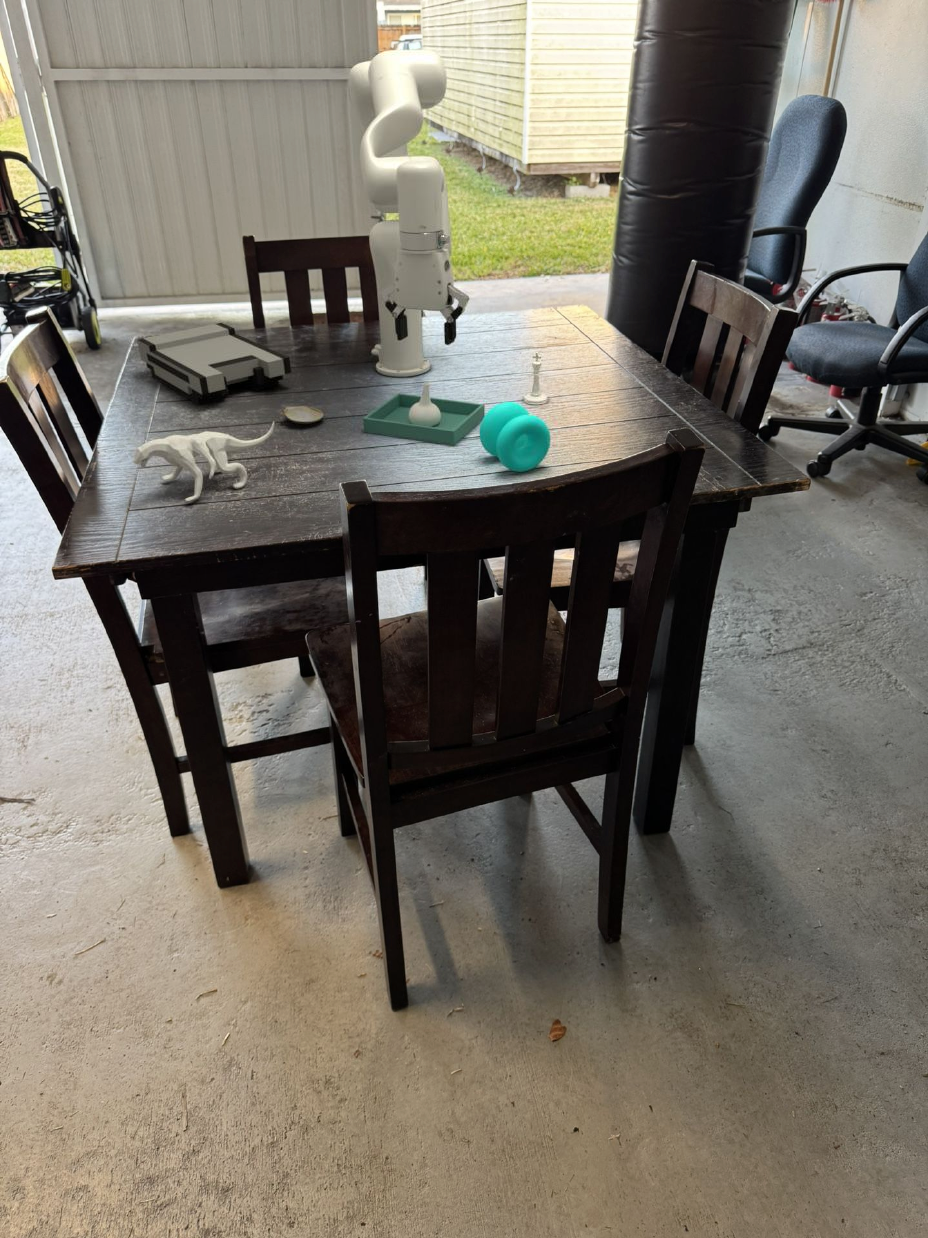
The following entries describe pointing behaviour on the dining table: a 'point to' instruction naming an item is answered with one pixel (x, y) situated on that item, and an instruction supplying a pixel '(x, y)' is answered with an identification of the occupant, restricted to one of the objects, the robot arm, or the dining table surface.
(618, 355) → the dining table surface
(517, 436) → the turquoise yo-yo
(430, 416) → the garlic bulb
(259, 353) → the game console
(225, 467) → the white animal figurine
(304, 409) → the seashell
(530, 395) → the chess piece
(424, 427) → the tray
